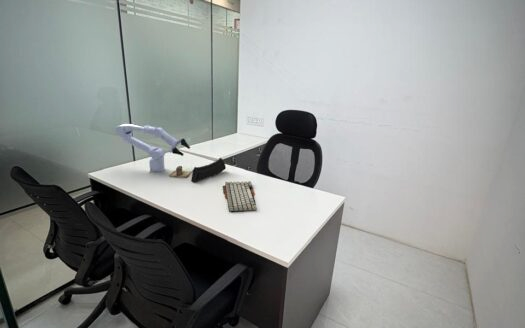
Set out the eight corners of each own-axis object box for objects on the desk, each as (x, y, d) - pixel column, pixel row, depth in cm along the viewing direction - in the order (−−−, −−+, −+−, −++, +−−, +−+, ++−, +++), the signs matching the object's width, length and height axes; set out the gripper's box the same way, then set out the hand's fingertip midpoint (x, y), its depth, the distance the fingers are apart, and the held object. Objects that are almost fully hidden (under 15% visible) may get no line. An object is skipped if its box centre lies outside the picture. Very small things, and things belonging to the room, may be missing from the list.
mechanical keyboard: (262, 211, 139) (262, 206, 138) (226, 214, 135) (226, 208, 134) (250, 184, 174) (251, 179, 173) (222, 185, 170) (221, 181, 169)
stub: (169, 176, 176) (168, 168, 174) (173, 172, 184) (173, 164, 182) (186, 177, 176) (186, 169, 174) (190, 173, 183) (190, 165, 181)
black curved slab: (191, 171, 164) (222, 149, 184) (187, 170, 165) (218, 148, 185) (197, 193, 173) (226, 169, 193) (194, 191, 174) (223, 168, 194)
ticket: (174, 172, 184) (173, 170, 184) (178, 168, 193) (178, 166, 192) (190, 173, 184) (190, 171, 184) (194, 169, 193) (194, 167, 192)
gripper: (164, 143, 173) (181, 155, 174) (177, 130, 182) (193, 142, 183) (162, 149, 178) (179, 160, 180) (175, 136, 187) (191, 147, 189)
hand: (186, 151), depth 182 cm, fingers open, 7 cm apart
